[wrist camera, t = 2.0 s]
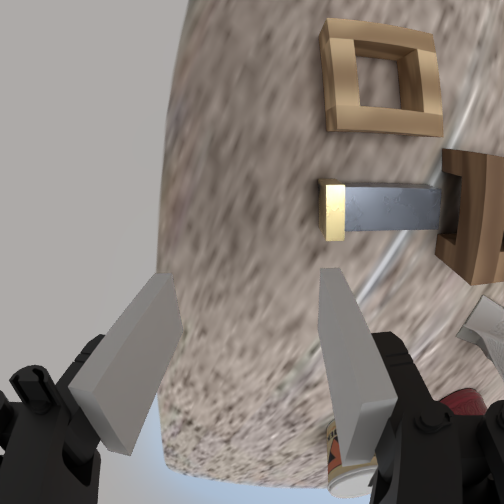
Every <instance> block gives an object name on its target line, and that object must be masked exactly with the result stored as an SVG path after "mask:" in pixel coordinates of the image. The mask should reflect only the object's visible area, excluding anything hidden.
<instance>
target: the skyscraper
mask: <svg viewBox="0 0 504 504" xmlns="http://www.w3.org/2000/svg"><path fill="white" fill-rule="evenodd" d="M456 337H457V338H460V339H462V340H465V341H468V342H470V343H473V344H475V345H478V346H479V347H480V348H481V349H482V351H483V352H484V354H485V356H486V357H487V358H488V359H490V360H491V361H492V362H493V364H494V365H495V367H496V368H497V370H498V372H499V374H500V376H501V377H502V379H503V381H504V307H502V306H501V305H499V304H497V303H496V302H494V301H492V300H491V299H489V298H487V297H486V296H484V295H482V296H481V298H480V300H479V301H478V303H477V305H476V306H475V308H474V309H473V311H472V313H471V314H470V316H469V317H468V319H467V320H466V322H465V323H464V325H463V326H462V328H461V329H460V331H459V332H458V333H457V335H456Z"/></svg>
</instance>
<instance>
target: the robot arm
mask: <svg viewBox="0 0 504 504" xmlns="http://www.w3.org/2000/svg"><path fill="white" fill-rule="evenodd" d="M182 333H183V326H182V322H181V317H180V312H179V307H178V302H177V297H176V291H175V286H174V281H173V275H172V273H155V274H154V275H153V276H152V277H151V279H150V280H149V281H148V282H147V283H146V285H145V286H144V287H143V288H142V290H141V291H140V292H139V293H138V295H137V296H136V297H135V298H134V299H133V301H132V302H131V303H130V304H129V306H128V307H127V308H126V309H125V311H124V312H123V313H122V315H121V316H120V317H119V318H118V320H117V321H116V322H115V323H114V325H113V326H112V327H111V329H110V330H109V331H108V333H107V334H106V335H102V334H99V335H98V336H97V337H95V338H94V339H93V340H91V341H89V342H88V343H87V345H86V346H85V347H84V348H83V350H82V351H81V354H79V355H78V356H77V357H76V358H75V362H72V364H71V365H70V366H69V368H68V369H67V370H66V372H65V373H64V374H63V376H62V377H61V378H60V379H59V381H58V382H57V383H56V385H55V384H54V382H53V380H52V379H51V377H50V375H49V373H48V371H47V369H45V368H44V367H42V366H39V365H31V366H27V367H24V368H22V369H20V370H19V371H17V372H16V373H15V374H13V376H12V377H11V378H10V380H9V381H10V383H11V384H12V386H13V388H14V390H15V391H16V393H17V394H18V396H19V398H20V399H21V401H22V402H9V401H8V399H7V398H6V396H5V395H4V393H3V392H2V391H1V390H0V446H1V447H2V449H3V450H5V454H4V455H0V504H97V502H98V487H99V475H100V464H101V458H100V454H99V452H98V451H97V449H96V448H97V445H98V444H99V442H100V440H101V441H102V443H103V444H104V445H105V447H106V448H107V450H109V451H112V452H116V453H120V454H124V455H128V456H131V454H132V451H133V449H134V446H135V444H136V441H137V439H138V436H139V433H140V431H141V429H142V426H143V424H144V422H145V419H146V417H147V414H148V412H149V409H150V407H151V405H152V402H153V400H154V397H155V395H156V393H157V390H158V388H159V386H160V383H161V381H162V379H163V376H164V374H165V372H166V369H167V367H168V365H169V362H170V360H171V358H172V355H173V353H174V351H175V348H176V346H177V344H178V342H179V339H180V337H181V335H182ZM318 333H319V338H320V342H321V347H322V352H323V357H324V362H325V368H326V373H327V378H328V383H329V389H330V394H331V400H332V406H333V411H334V417H335V423H336V429H337V435H338V442H339V448H340V454H341V461H342V467H345V466H352V465H359V464H365V463H370V462H371V460H372V458H373V456H374V454H376V459H377V463H378V467H377V469H376V471H375V473H374V474H373V476H372V478H371V480H370V482H369V484H368V487H372V492H371V498H370V503H369V504H504V400H499V401H496V402H495V403H493V404H491V405H490V407H489V408H488V410H487V411H486V413H485V414H484V415H456V414H454V412H453V411H452V410H451V409H450V408H449V407H448V406H447V405H445V404H443V403H441V402H439V401H435V400H433V399H432V397H431V395H430V393H429V391H428V389H427V387H426V385H425V383H424V381H423V379H422V377H421V375H420V373H419V371H418V369H417V367H416V365H415V364H413V360H412V358H411V356H410V354H408V350H407V348H406V347H405V345H404V343H403V341H402V340H401V339H400V338H398V337H397V336H396V335H395V334H393V333H392V332H391V331H389V332H380V333H370V330H369V328H368V326H367V324H366V321H365V319H364V317H363V315H362V313H361V311H360V308H359V306H358V304H357V302H356V300H355V298H354V296H353V294H352V292H351V289H350V287H349V285H348V283H347V281H346V279H345V277H344V275H343V273H342V271H341V269H340V268H321V269H320V291H319V313H318ZM372 485H373V486H372Z"/></svg>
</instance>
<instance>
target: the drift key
mask: <svg viewBox="0 0 504 504" xmlns="http://www.w3.org/2000/svg"><path fill="white" fill-rule="evenodd" d="M318 190H319V228H320V230H321V232H322V234H323V236H324V238H325V240H326V241H344V231H376V230H429V229H438V226H439V216H440V204H441V189H439V188H436V187H433V186H430V185H426V184H401V183H341V182H339V181H338V180H336V179H318Z"/></svg>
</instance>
